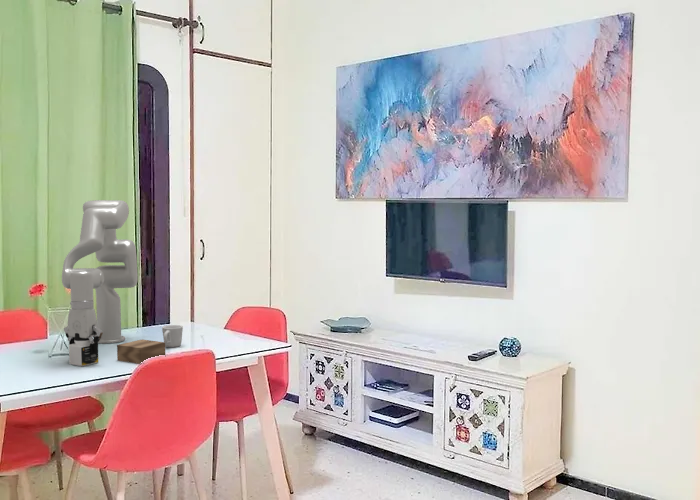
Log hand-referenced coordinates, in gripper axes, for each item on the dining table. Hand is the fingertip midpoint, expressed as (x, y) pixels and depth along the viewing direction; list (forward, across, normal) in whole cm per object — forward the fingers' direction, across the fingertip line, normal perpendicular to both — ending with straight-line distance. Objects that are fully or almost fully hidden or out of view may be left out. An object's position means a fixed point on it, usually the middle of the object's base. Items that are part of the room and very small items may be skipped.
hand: (83, 352), depth 250 cm
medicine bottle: (+4, 0, 0) cm, 4 cm away
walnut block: (+4, +14, +14) cm, 20 cm away
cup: (+4, +10, +36) cm, 38 cm away
